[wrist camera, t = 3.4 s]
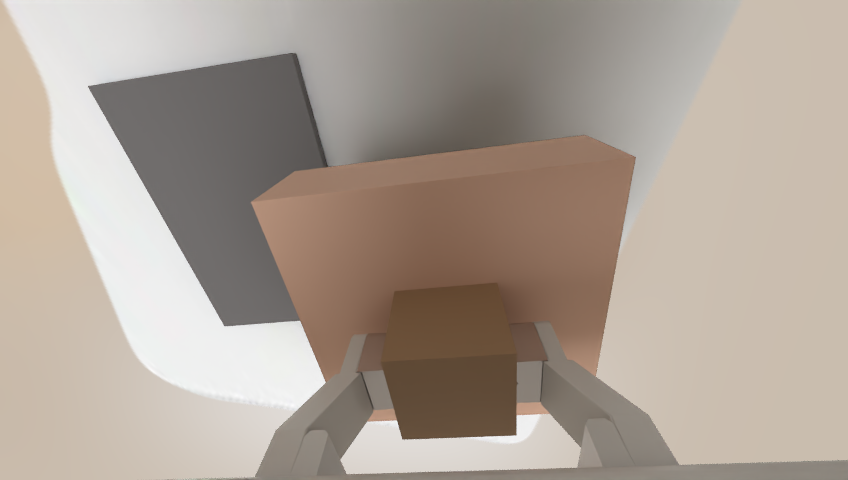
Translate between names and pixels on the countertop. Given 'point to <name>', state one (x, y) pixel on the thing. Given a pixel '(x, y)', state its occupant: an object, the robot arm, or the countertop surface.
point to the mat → (219, 168)
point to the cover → (453, 269)
